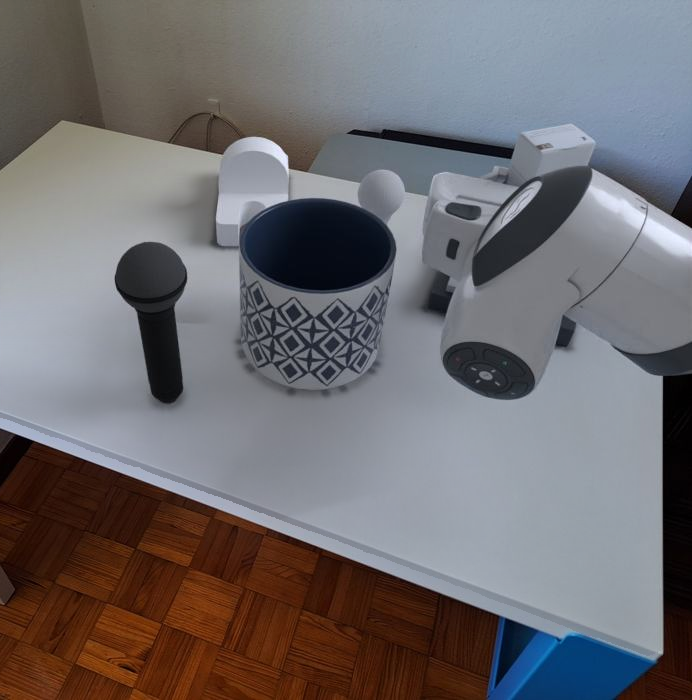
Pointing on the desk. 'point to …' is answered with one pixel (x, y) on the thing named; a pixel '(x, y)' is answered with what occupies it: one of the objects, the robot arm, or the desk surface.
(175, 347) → the microphone
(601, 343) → the desk surface
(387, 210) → the light bulb
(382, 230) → the planter
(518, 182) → the cosmetic box
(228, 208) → the white u-slot block
